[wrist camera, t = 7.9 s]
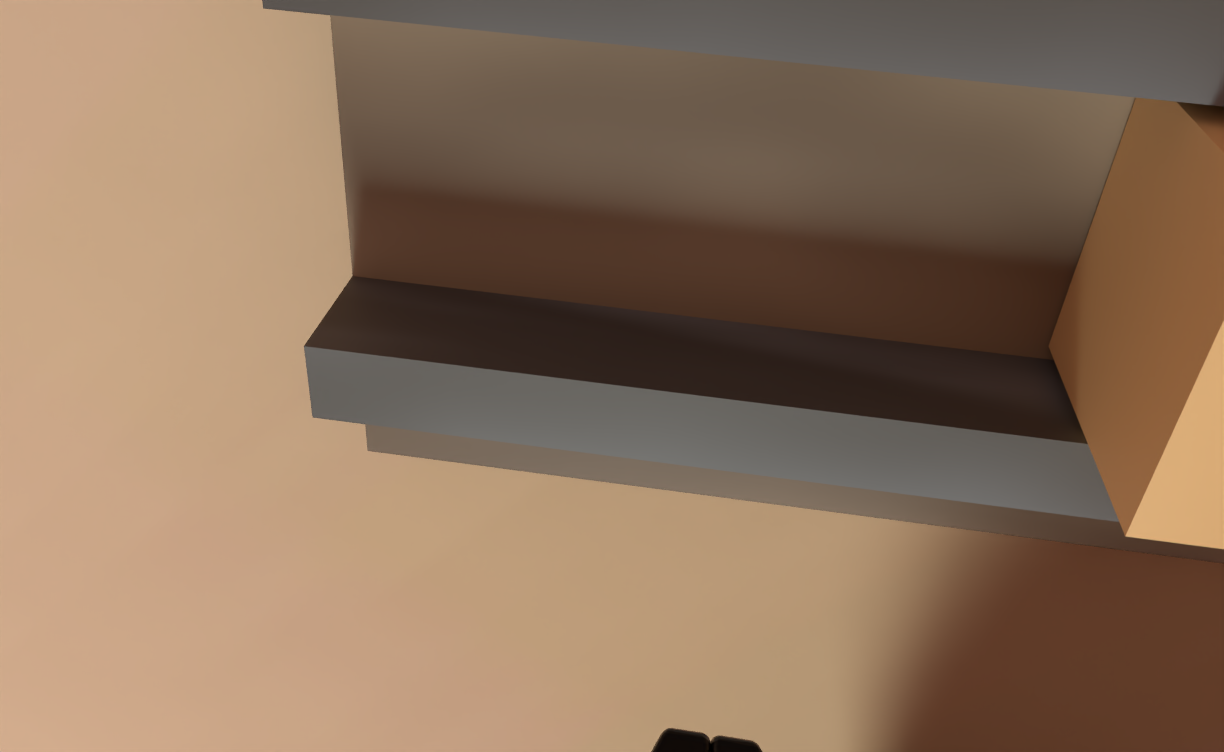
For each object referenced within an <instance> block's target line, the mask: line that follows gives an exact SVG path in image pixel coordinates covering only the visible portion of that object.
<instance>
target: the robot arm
mask: <svg viewBox="0 0 1224 752" xmlns="http://www.w3.org/2000/svg"><path fill="white" fill-rule="evenodd" d="M652 752H762V750H761V749H760V747H759V745H758V744H757V743H755V742H754V741H751V740H745V739H739V738H732V737H726V736H716V737H713V739H712V740H711V742H710V740H709V737H708V736H707V735H705V734H704V733H700V732H694V731H687V730H681V729H674V728H668V729H666V730H665V731H664V732H663V733H662V734H661V735H660V737H659V739H658V741H657V742H656V744H655V746H654V748H653V750H652Z"/></svg>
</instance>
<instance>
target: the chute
mask: <svg viewBox="0 0 1224 752" xmlns="http://www.w3.org/2000/svg"><path fill="white" fill-rule="evenodd" d="M262 1H263V8H265V9H275V10H285V11H295V12H304V13H314V14H324V15H330V17H331V29H332V40H333V52H334V64H335V75H336V87H337V99H338V110H339V122H340V134H341V145H342V157H343V169H344V180H345V192H346V204H347V215H348V227H349V239H350V250H351V262H352V274H353V276H352V278H351V279H350V281H349V282H348V284H347V285H346V286H345V288H344V289H343V291H342V292H341V294H340V295H339V297H338V298H337V299H336V301H335V302H334V304H333V305H332V307H331V308H330V310H329V311H328V312H327V314H326V315H325V317H324V318H323V320H322V321H321V322H320V324H319V325H318V327H317V328H316V330H315V331H314V333H313V334H312V335H311V337H310V338H309V340H308V341H307V343H306V344H305V346H304V350H305V358H306V367H307V375H308V383H309V391H310V400H311V408H312V416H313V417H314V418H321V419H329V420H337V421H344V422H352V423H360V424H365V425H366V437H367V449H368V451H373V452H381V453H389V454H396V455H404V456H411V457H419V458H427V459H434V460H442V461H449V462H457V463H465V464H472V465H480V466H487V467H495V468H503V469H510V470H518V471H525V472H533V473H541V474H548V475H556V476H564V477H571V478H579V479H586V480H594V481H602V482H609V483H617V484H624V485H632V486H640V487H647V488H655V489H662V490H670V491H678V492H685V493H693V494H700V495H708V496H716V497H723V498H731V499H738V500H746V501H754V502H761V503H769V504H776V505H784V506H792V507H799V508H807V509H814V510H822V511H830V512H837V513H845V514H852V515H860V516H868V517H875V518H883V519H890V520H898V521H906V522H913V523H921V524H928V525H936V526H944V527H951V528H959V529H966V530H974V531H982V532H989V533H997V534H1004V535H1012V536H1020V537H1027V538H1035V539H1042V540H1050V541H1058V542H1065V543H1073V544H1081V545H1088V546H1096V547H1103V548H1111V549H1119V550H1126V551H1134V552H1141V553H1149V554H1157V555H1164V556H1172V557H1179V558H1187V559H1195V560H1202V561H1210V562H1217V563H1224V549H1218V548H1210V547H1203V546H1195V545H1187V544H1180V543H1172V542H1164V541H1157V540H1149V539H1141V538H1134V537H1126V536H1125V535H1124V532H1123V530H1122V527H1121V525H1120V522H1119V520H1118V517H1117V515H1116V512H1115V510H1114V507H1113V505H1112V502H1111V500H1110V497H1109V495H1108V492H1107V490H1106V488H1105V485H1104V483H1103V480H1102V478H1101V475H1100V473H1099V470H1098V468H1097V465H1096V463H1095V460H1094V458H1093V455H1092V453H1091V450H1090V448H1089V445H1088V443H1087V441H1086V438H1085V436H1084V433H1083V431H1082V428H1081V426H1080V423H1079V421H1078V418H1077V416H1076V413H1075V411H1074V408H1073V406H1072V403H1071V401H1070V398H1069V396H1068V393H1067V391H1066V389H1065V386H1064V384H1063V381H1062V379H1061V376H1060V374H1059V371H1058V369H1057V366H1056V364H1055V361H1054V359H1053V356H1052V354H1051V351H1050V349H1049V343H1050V340H1051V337H1052V335H1053V332H1054V329H1055V326H1056V323H1057V320H1058V318H1059V315H1060V312H1061V309H1062V306H1063V303H1064V300H1065V298H1066V295H1067V292H1068V289H1069V286H1070V283H1071V281H1072V278H1073V275H1074V272H1075V269H1076V266H1077V263H1078V261H1079V258H1080V255H1081V252H1082V249H1083V246H1084V244H1085V241H1086V238H1087V235H1088V232H1089V229H1090V227H1091V224H1092V221H1093V218H1094V215H1095V212H1096V209H1097V207H1098V204H1099V201H1100V198H1101V195H1102V192H1103V190H1104V187H1105V184H1106V181H1107V178H1108V175H1109V173H1110V170H1111V167H1112V164H1113V161H1114V158H1115V155H1116V153H1117V150H1118V147H1119V144H1120V141H1121V138H1122V136H1123V133H1124V130H1125V127H1126V124H1127V121H1128V119H1129V116H1130V113H1131V110H1132V107H1133V104H1134V101H1135V99H1136V98H1145V99H1155V100H1165V101H1175V102H1184V103H1194V104H1204V105H1214V106H1224V0H262Z"/></svg>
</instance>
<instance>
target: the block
mask: <svg viewBox="0 0 1224 752" xmlns="http://www.w3.org/2000/svg"><path fill="white" fill-rule="evenodd" d="M1049 349H1050V351H1051V354H1052V356H1053V359H1054V361H1055V364H1056V366H1057V369H1058V371H1059V374H1060V376H1061V379H1062V381H1063V384H1064V386H1065V389H1066V391H1067V393H1068V396H1069V398H1070V401H1071V403H1072V406H1073V408H1074V411H1075V413H1076V416H1077V418H1078V421H1079V423H1080V426H1081V428H1082V431H1083V433H1084V436H1085V438H1086V441H1087V443H1088V445H1089V448H1090V450H1091V453H1092V455H1093V458H1094V460H1095V463H1096V465H1097V468H1098V470H1099V473H1100V475H1101V478H1102V480H1103V483H1104V485H1105V488H1106V490H1107V492H1108V495H1109V497H1110V500H1111V502H1112V505H1113V507H1114V510H1115V512H1116V515H1117V517H1118V520H1119V522H1120V525H1121V527H1122V530H1123V532H1124V535H1125V536H1126V537H1134V538H1141V539H1149V540H1157V541H1164V542H1172V543H1180V544H1187V545H1195V546H1203V547H1210V548H1218V549H1224V106H1214V105H1204V104H1194V103H1184V102H1175V101H1165V100H1155V99H1145V98H1136V99H1135V101H1134V104H1133V107H1132V110H1131V113H1130V116H1129V119H1128V121H1127V124H1126V127H1125V130H1124V133H1123V136H1122V138H1121V141H1120V144H1119V147H1118V150H1117V153H1116V155H1115V158H1114V161H1113V164H1112V167H1111V170H1110V173H1109V175H1108V178H1107V181H1106V184H1105V187H1104V190H1103V192H1102V195H1101V198H1100V201H1099V204H1098V207H1097V209H1096V212H1095V215H1094V218H1093V221H1092V224H1091V227H1090V229H1089V232H1088V235H1087V238H1086V241H1085V244H1084V246H1083V249H1082V252H1081V255H1080V258H1079V261H1078V263H1077V266H1076V269H1075V272H1074V275H1073V278H1072V281H1071V283H1070V286H1069V289H1068V292H1067V295H1066V298H1065V300H1064V303H1063V306H1062V309H1061V312H1060V315H1059V318H1058V320H1057V323H1056V326H1055V329H1054V332H1053V335H1052V337H1051V340H1050V343H1049Z"/></svg>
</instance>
